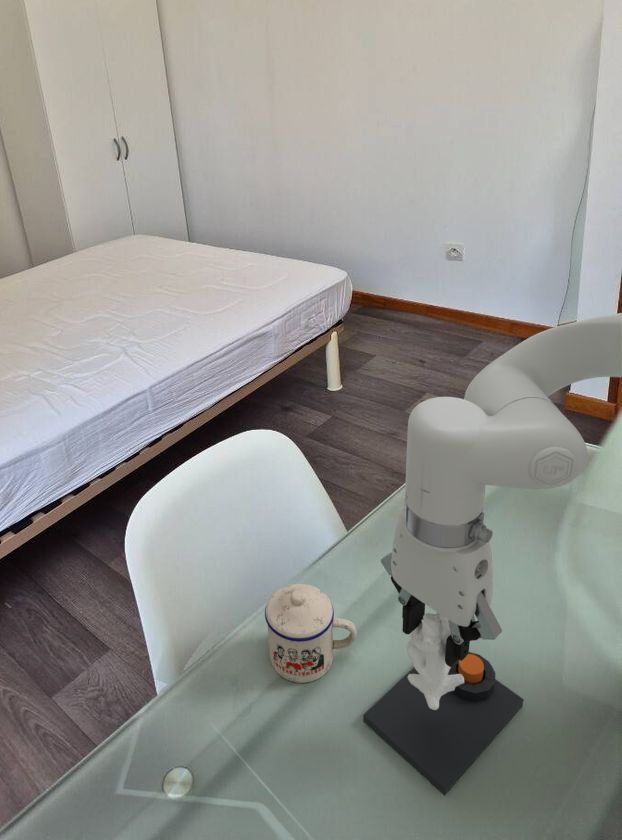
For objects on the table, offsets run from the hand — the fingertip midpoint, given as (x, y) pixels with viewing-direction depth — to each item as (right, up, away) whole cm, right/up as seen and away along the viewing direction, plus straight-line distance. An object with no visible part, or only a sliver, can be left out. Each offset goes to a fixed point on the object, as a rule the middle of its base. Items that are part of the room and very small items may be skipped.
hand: (434, 640), depth 77 cm
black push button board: (+3, -13, +8) cm, 16 cm away
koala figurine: (+1, -6, +3) cm, 7 cm away
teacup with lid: (-12, -10, +17) cm, 23 cm away
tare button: (+7, -9, +10) cm, 15 cm away
